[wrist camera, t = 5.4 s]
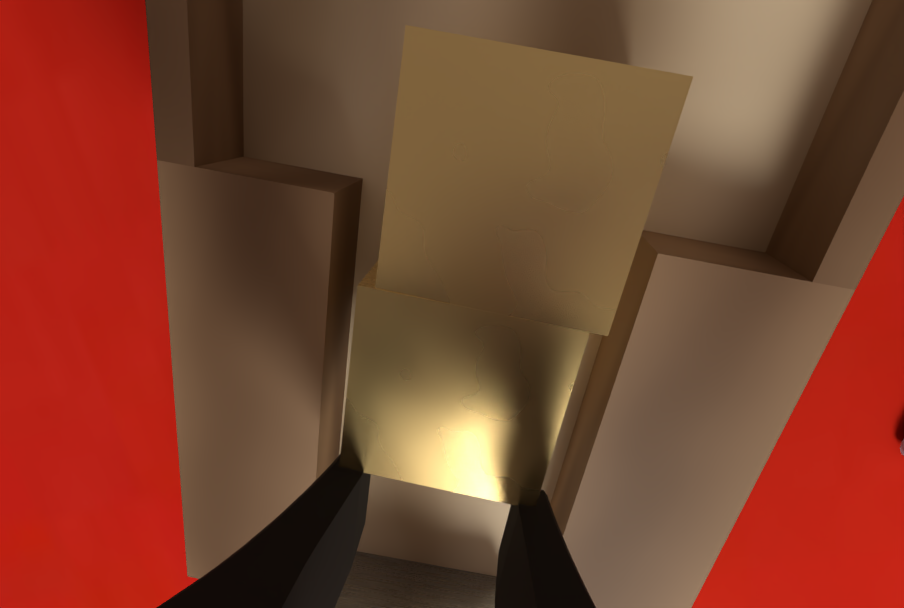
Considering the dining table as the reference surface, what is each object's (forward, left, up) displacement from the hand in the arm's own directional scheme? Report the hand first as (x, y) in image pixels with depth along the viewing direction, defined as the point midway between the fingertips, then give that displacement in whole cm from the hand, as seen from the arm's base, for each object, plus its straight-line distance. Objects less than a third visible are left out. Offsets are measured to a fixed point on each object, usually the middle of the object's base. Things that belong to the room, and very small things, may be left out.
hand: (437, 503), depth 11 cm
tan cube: (0, -3, -3) cm, 5 cm away
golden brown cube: (0, -7, -3) cm, 8 cm away
